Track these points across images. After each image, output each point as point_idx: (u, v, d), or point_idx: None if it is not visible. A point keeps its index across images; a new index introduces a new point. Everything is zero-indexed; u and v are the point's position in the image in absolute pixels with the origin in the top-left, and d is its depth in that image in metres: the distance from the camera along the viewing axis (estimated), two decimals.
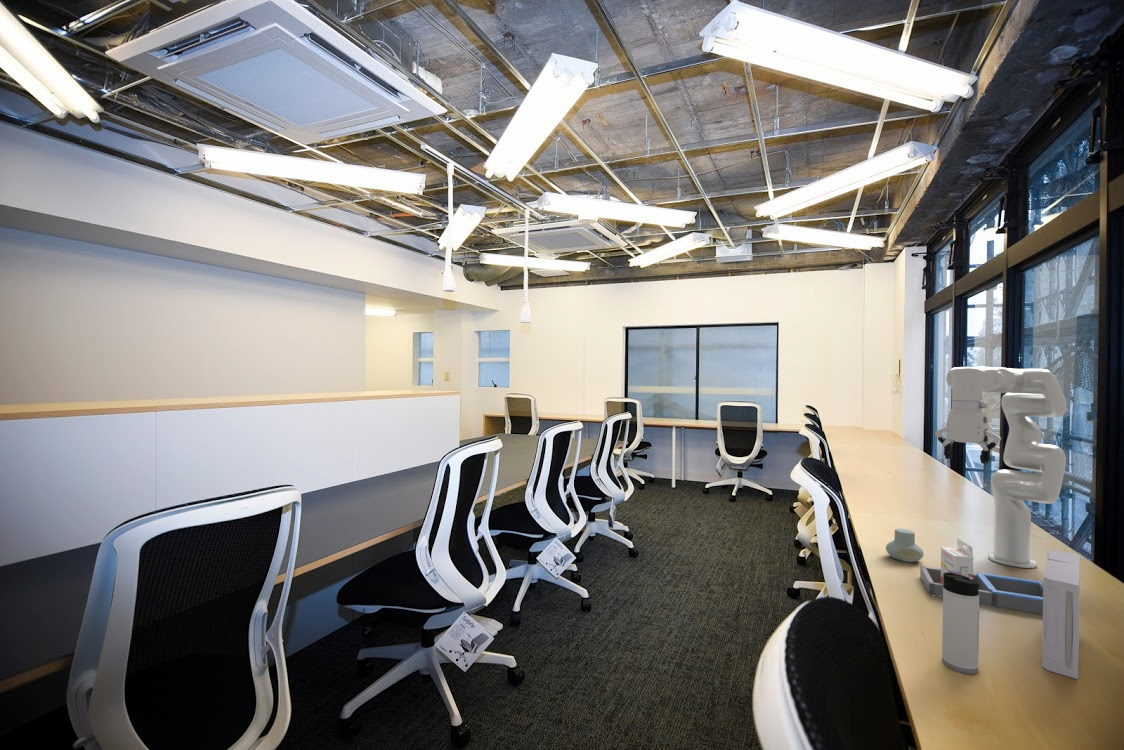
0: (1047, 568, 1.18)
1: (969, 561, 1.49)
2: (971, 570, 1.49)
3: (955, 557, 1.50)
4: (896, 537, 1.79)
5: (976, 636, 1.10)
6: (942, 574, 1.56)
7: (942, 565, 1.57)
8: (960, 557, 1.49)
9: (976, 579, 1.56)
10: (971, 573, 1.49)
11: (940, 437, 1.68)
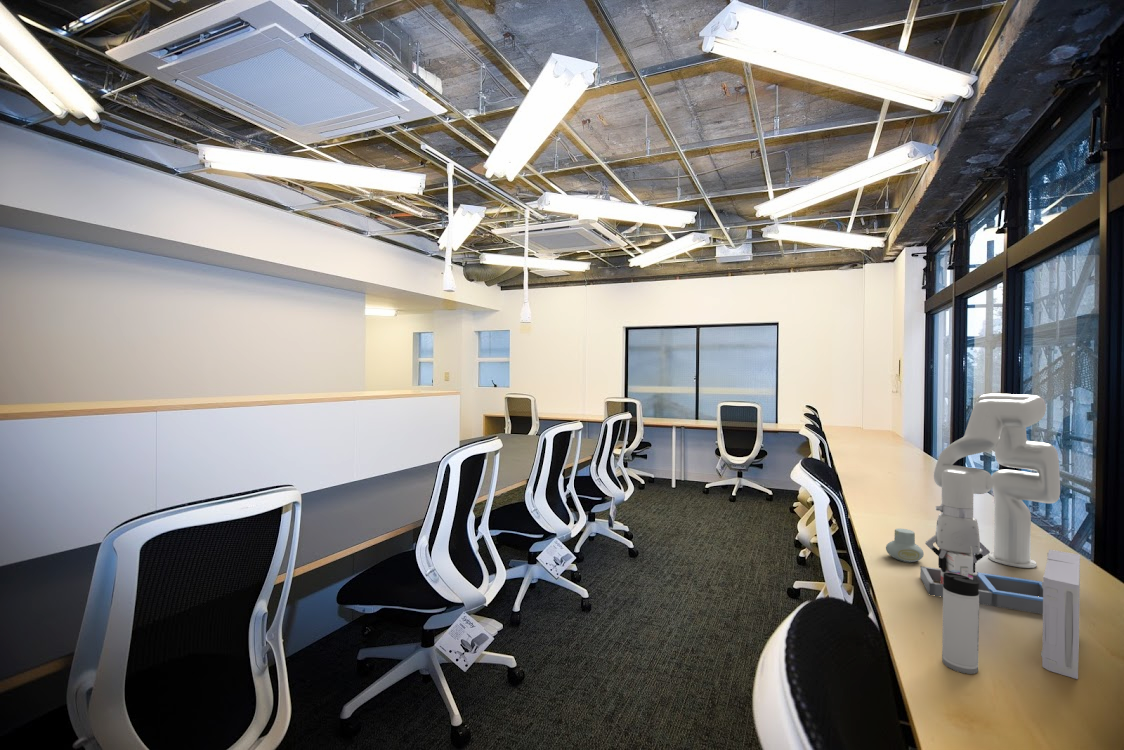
0: (1047, 568, 1.18)
1: (969, 561, 1.49)
2: (971, 570, 1.49)
3: (955, 557, 1.50)
4: (896, 537, 1.79)
5: (976, 636, 1.10)
6: (942, 574, 1.56)
7: None
8: (960, 557, 1.49)
9: (976, 579, 1.56)
10: (971, 573, 1.49)
11: None
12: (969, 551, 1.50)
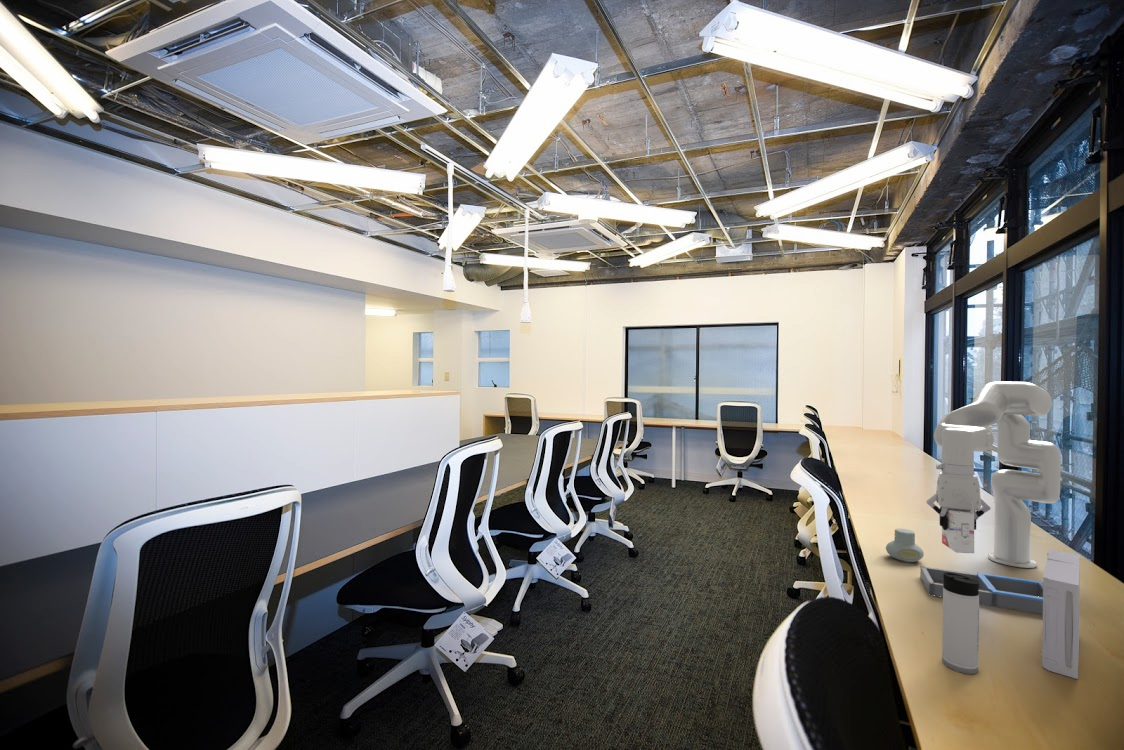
0: (1047, 568, 1.18)
1: (970, 518, 1.49)
2: (972, 526, 1.49)
3: (956, 514, 1.50)
4: (896, 537, 1.79)
5: (976, 636, 1.10)
6: (943, 532, 1.57)
7: None
8: (961, 514, 1.49)
9: (976, 579, 1.56)
10: (972, 529, 1.49)
11: None
12: (970, 508, 1.50)
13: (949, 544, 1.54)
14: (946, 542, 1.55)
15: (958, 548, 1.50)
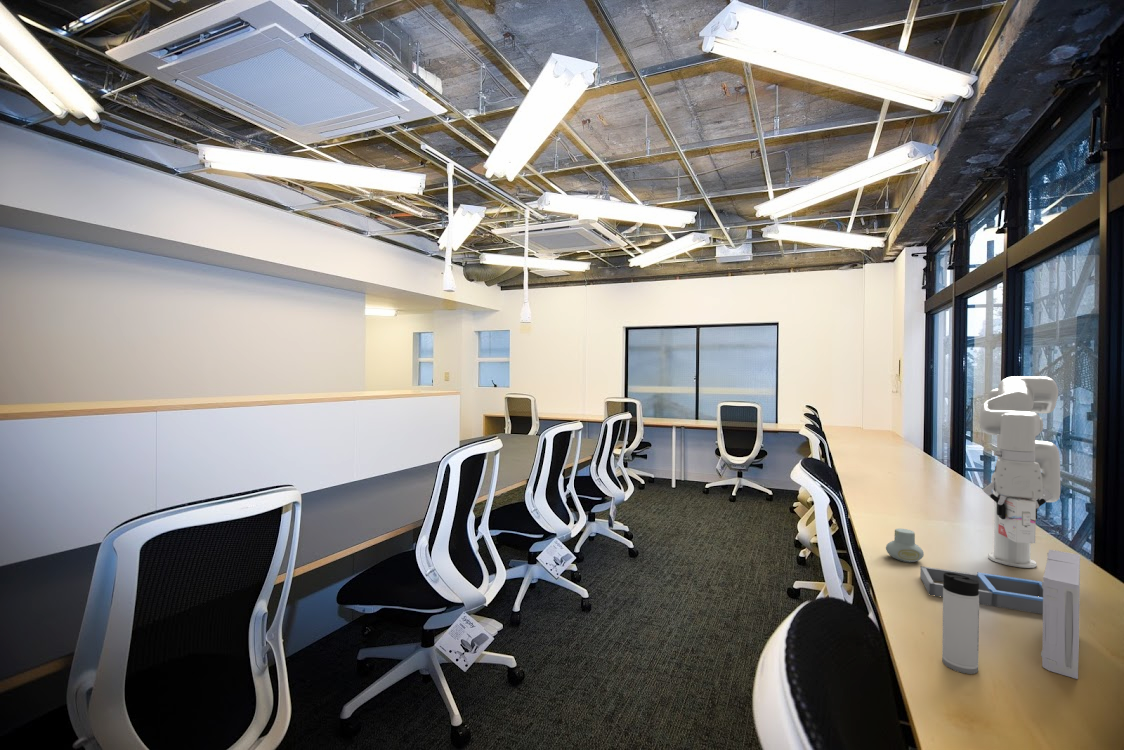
0: (1047, 568, 1.18)
1: (1031, 506, 1.43)
2: (1033, 515, 1.43)
3: (1016, 502, 1.44)
4: (896, 537, 1.79)
5: (976, 636, 1.10)
6: (1000, 522, 1.50)
7: None
8: (1022, 502, 1.43)
9: (976, 579, 1.56)
10: (1033, 518, 1.43)
11: None
12: (1031, 496, 1.43)
13: (1007, 534, 1.48)
14: (1004, 532, 1.49)
15: (1018, 538, 1.43)
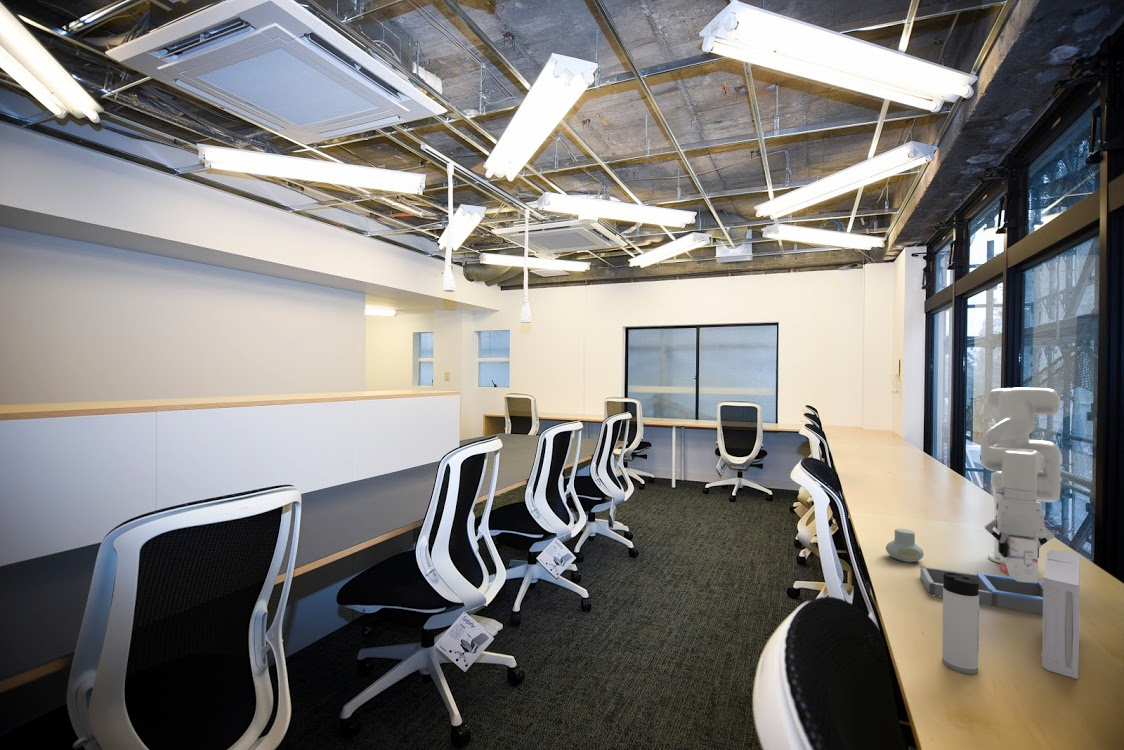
0: (1047, 568, 1.18)
1: (1033, 545, 1.42)
2: (1035, 555, 1.42)
3: (1018, 541, 1.43)
4: (896, 537, 1.79)
5: (976, 636, 1.10)
6: (1002, 560, 1.50)
7: None
8: (1024, 541, 1.43)
9: (976, 579, 1.56)
10: (1035, 558, 1.42)
11: None
12: (1033, 535, 1.43)
13: (1009, 573, 1.47)
14: (1005, 570, 1.49)
15: (1020, 577, 1.43)
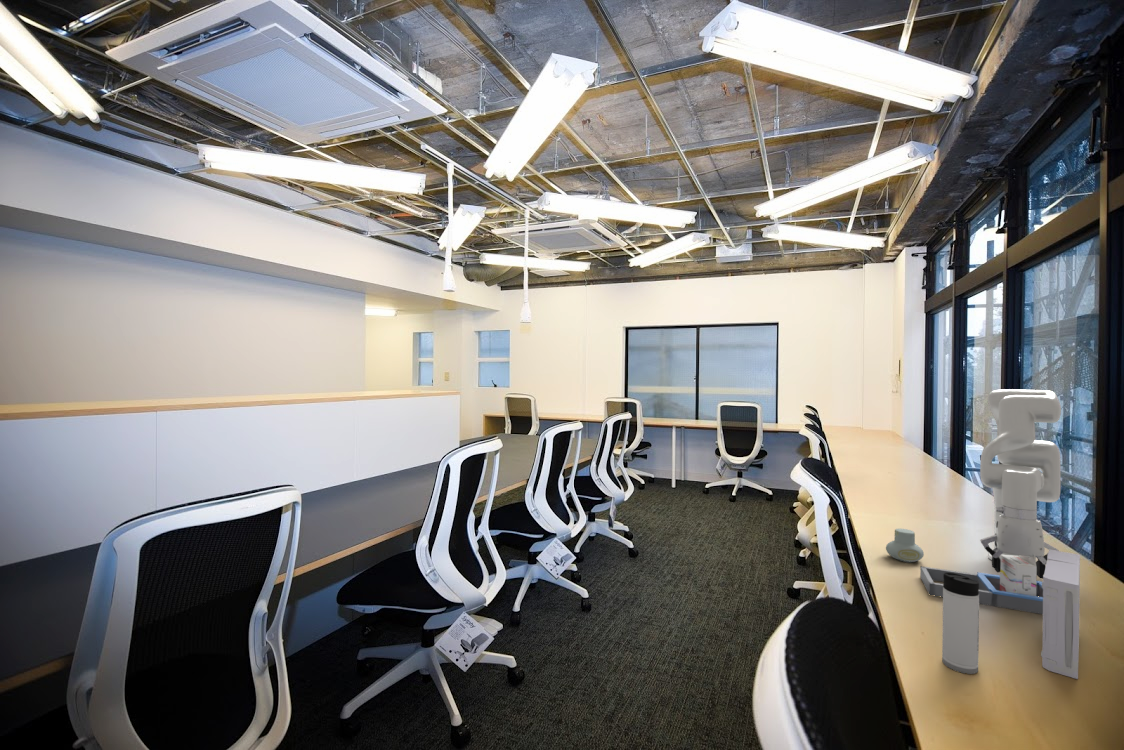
0: (1047, 568, 1.18)
1: (1032, 570, 1.42)
2: (1034, 579, 1.42)
3: (1016, 565, 1.43)
4: (896, 537, 1.79)
5: (976, 636, 1.10)
6: (1001, 583, 1.50)
7: (1001, 573, 1.51)
8: (1023, 565, 1.43)
9: (976, 579, 1.56)
10: (1034, 582, 1.42)
11: None
12: None
13: None
14: None
15: None
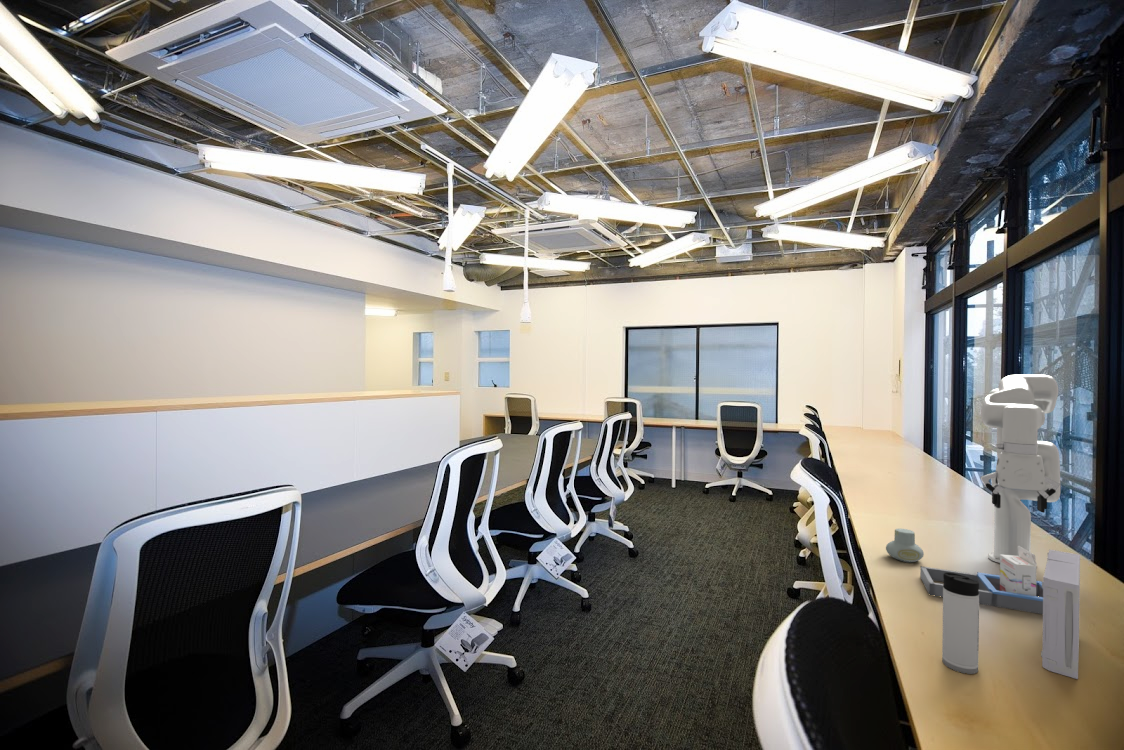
0: (1047, 568, 1.18)
1: (1032, 570, 1.43)
2: (1034, 579, 1.42)
3: (1016, 565, 1.44)
4: (896, 537, 1.79)
5: (976, 636, 1.10)
6: (1001, 583, 1.50)
7: (1001, 573, 1.51)
8: (1022, 565, 1.43)
9: (976, 579, 1.56)
10: (1034, 582, 1.42)
11: None
12: (1033, 488, 1.43)
13: None
14: None
15: None
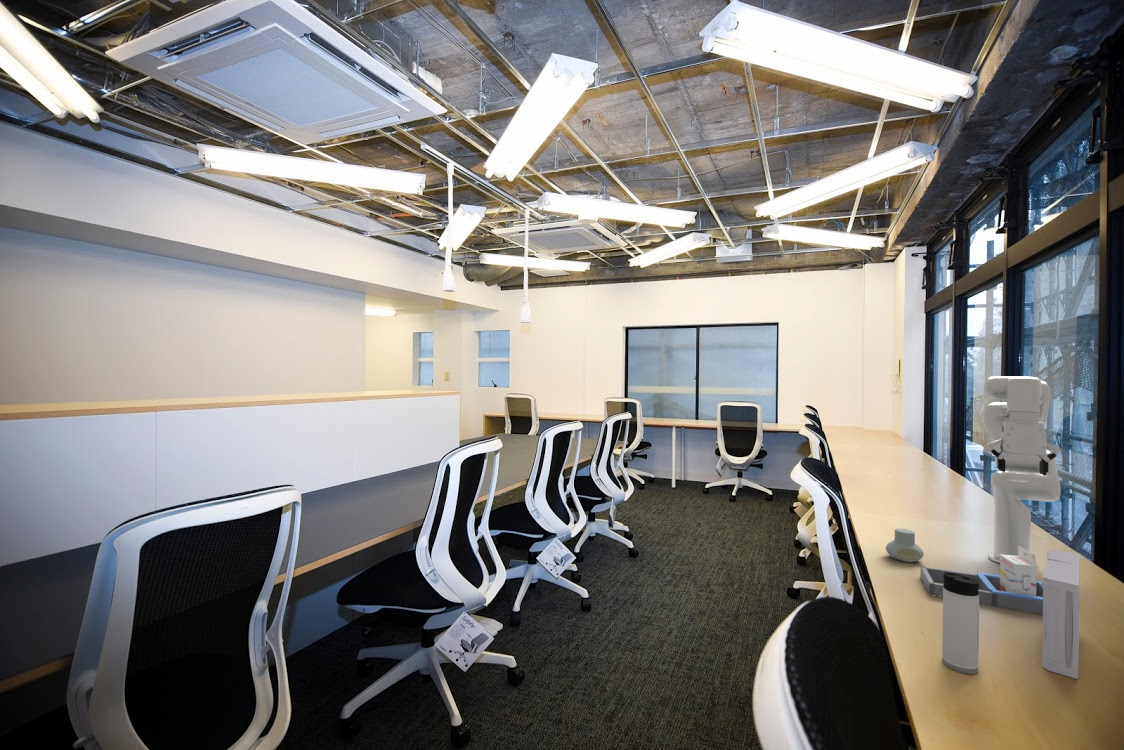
0: (1047, 568, 1.18)
1: (1032, 570, 1.43)
2: (1034, 579, 1.42)
3: (1016, 565, 1.44)
4: (896, 537, 1.79)
5: (976, 636, 1.10)
6: (1001, 583, 1.50)
7: (1001, 573, 1.51)
8: (1022, 565, 1.43)
9: (976, 579, 1.56)
10: (1034, 582, 1.42)
11: None
12: (1036, 453, 1.55)
13: None
14: None
15: None
